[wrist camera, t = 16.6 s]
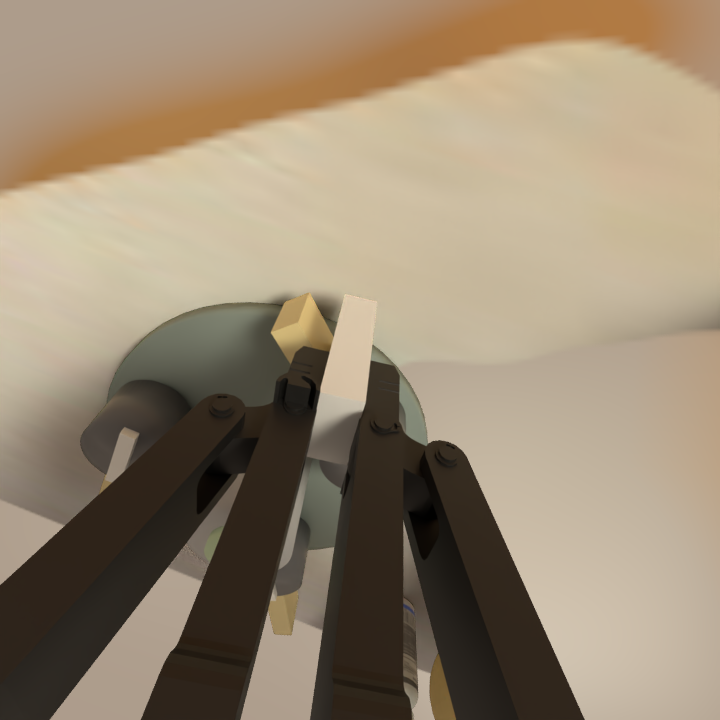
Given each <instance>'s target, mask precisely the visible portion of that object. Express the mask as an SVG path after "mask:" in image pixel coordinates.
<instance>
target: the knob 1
mask: <svg viewBox="0 0 720 720" xmlns="http://www.w3.org/2000/svg"><path fill="white" fill-rule="evenodd" d="M190 410H191V409H190V407H189V405H188V403H187V402H186V400H185V399H184V398H183V397H182V396H181V395H180V394H179V393H178V392H176V391H175V390H174V389H172V388H170V387H169V386H167V385H164V384H162V383H159V382H156V381H151V380H134V381H131V382H128V383H126V384H125V385H123V386H122V387H121V388H120V389H119V390H118V392H117V393H116V394H115V395H114V396H113V398H112V399H111V400H110V401H109V402H108V403H107V405H106V406H105V407H104V408H103V409H102V411H101V412H100V413H99V414H98V415H97V416H96V418H95V419H94V420H93V421H92V422H91V424H90V425H89V426H88V427H87V428H86V429H85V431H84V432H83V434H82V436H81V440H80V443H81V448H82V451H83V453H84V455H85V456H86V458H87V459H88V460H89V461H90V463H91V464H92V465H94V466H95V467H96V468H97V469H99V470H100V471H101V472H103V473H105V477H104V480H103V483H102V486H101V489H100V493H101V492H102V491H103V490H105V489H106V488H107V487H108V486H109V485H110V484H111V483H112V482H113V481H114V480H115V479H116V478H118V477H119V476H120V475H121V474H122V473H123V472H124V471H125V470H126V469H127V468H128V467H130V466H131V465H132V464H133V463H134V462H135V461H136V460H137V459H138V458H139V457H140V456H141V455H143V454H144V453H145V452H146V451H147V450H148V449H149V448H150V447H151V446H152V445H153V444H155V443H156V442H157V441H158V440H159V439H160V438H161V437H162V436H163V435H164V434H165V433H167V432H168V431H169V430H170V429H171V428H172V427H173V426H174V425H175V424H176V423H177V422H178V421H180V420H181V419H182V418H183V417H184V416H185V415H186V414H187V413H188V412H189V411H190ZM100 493H99V494H100Z"/></svg>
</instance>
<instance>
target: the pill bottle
mask: <svg viewBox="0 0 720 720" xmlns="http://www.w3.org/2000/svg"><path fill="white" fill-rule="evenodd" d="M403 681H404V690H405V692H406V694H407V695H408V697H409V698H410V703H411V708H412V709H413V708H414V707H415V705H416V703H417V700H418V678H417V653H416V631H415V612H414V608H413V606H412V604H411V603H410V602H409V601H408V600H406V599H404V598H403ZM412 720H414V718H413V712H412Z"/></svg>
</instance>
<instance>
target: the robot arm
mask: <svg viewBox="0 0 720 720" xmlns="http://www.w3.org/2000/svg"><path fill="white" fill-rule="evenodd" d="M376 308H377V301H373V300H369V299H365V298H360V297H356V296H352V295H348V294H345V296H344V299H343V303H342V307H341V311H340V315H339V319H338V323H337V326H336V330H335V334H334V338H333V342H332V346H331V350H330V352H328V351H324V350H319V349H315V348H311V347H306V346H303V347H302V348H300V349H299V350H298V351H296V352H295V355H294V357H293V360H292V363H291V365H290V368H289V370H288V373H285V374H283V375H281V376H280V377H279V378H278V379H277V380H276V385H275V392H274V400H273V402H271V403H270V404H267V405H264V406H256V407H245V404H244V403H243V402H242V400H241V399H239V398H237V397H236V396H234V395H230V394H214V395H210V396H207V397H206V398H204V399H203V400H201V401H200V402H199V403H198V404H197V405H196V406H195V407H194V408H193V409H192V410H190V411H189V412H188V413H187V414H186V415H185V416H184V417H183V418H182V419H181V420H180V421H178V422H177V423H176V424H175V425H174V426H173V427H172V428H171V429H170V430H169V431H168V432H167V433H165V434H164V435H163V436H162V437H161V438H160V439H159V440H158V441H157V442H156V443H155V444H153V445H152V446H151V447H150V448H149V449H148V450H147V451H146V452H145V453H144V454H143V455H141V456H140V457H139V458H138V459H137V460H136V461H135V462H134V463H133V464H132V465H131V466H130V467H128V468H127V469H126V470H125V471H124V472H123V473H122V474H121V475H120V476H119V477H118V478H116V479H115V480H114V481H113V482H112V483H111V484H110V485H109V486H108V487H107V488H106V489H105V490H103V491H102V492H101V493H100V494H99V495H98V496H97V497H96V498H95V499H94V500H93V501H91V502H90V503H89V504H88V505H87V506H86V507H85V508H84V509H83V510H82V511H81V512H79V513H78V514H77V515H76V516H75V517H74V518H73V519H72V520H71V521H70V522H69V523H68V524H66V525H65V526H64V527H63V528H62V529H61V530H60V531H59V532H58V533H57V534H56V535H54V536H53V537H52V538H51V539H50V540H49V541H48V542H47V543H46V544H45V545H44V546H43V547H41V548H40V549H39V550H38V551H37V552H36V553H35V554H34V555H33V556H32V557H31V558H29V559H28V560H27V561H26V562H25V563H24V564H23V565H22V566H21V567H20V568H19V569H18V570H16V571H15V572H14V573H13V574H12V575H11V576H10V577H9V578H8V579H7V580H6V581H4V582H3V583H2V584H1V585H0V720H50V718H51V717H52V716H53V715H54V713H55V712H56V711H57V709H58V708H59V707H60V706H61V704H62V703H63V702H64V700H65V699H66V698H67V696H68V695H69V694H70V693H71V691H72V690H73V689H74V687H75V686H76V685H77V683H78V682H79V681H80V679H81V678H82V677H83V676H84V674H85V673H86V672H87V671H88V669H89V668H90V667H91V665H92V664H93V663H94V662H95V660H96V659H97V658H98V656H99V655H100V654H101V653H102V651H103V650H104V649H105V647H106V646H107V645H108V643H109V642H110V641H111V640H112V638H113V637H114V636H115V634H116V633H117V632H118V631H119V629H120V628H121V627H122V625H123V624H124V623H125V622H126V620H127V619H128V618H129V616H130V615H131V614H132V612H133V611H134V610H135V609H136V607H137V606H138V605H139V603H140V602H141V601H142V600H143V598H144V597H145V596H146V594H147V593H148V592H149V591H150V589H151V588H152V587H153V585H154V584H155V583H156V581H157V580H158V579H159V578H160V576H161V575H162V574H163V573H164V571H165V570H166V569H167V567H168V566H169V565H170V563H171V562H172V561H173V560H174V558H175V557H176V556H177V554H178V553H179V552H180V551H181V549H182V548H183V547H184V545H185V544H186V543H187V542H188V540H189V539H190V538H191V536H192V535H193V534H194V532H195V531H196V530H197V529H198V527H199V526H200V525H201V523H202V522H203V521H204V520H205V518H206V517H207V516H208V514H209V513H210V512H211V511H212V509H213V508H214V507H215V505H216V504H217V503H218V501H219V500H220V499H221V498H222V496H223V495H224V494H225V492H226V491H227V490H228V489H229V487H230V486H231V485H232V483H233V482H234V481H235V480H236V478H237V476H238V474H241V473H245V475H244V477H243V480H242V482H241V485H240V488H239V490H238V493H237V495H236V498H235V500H234V503H233V505H232V508H231V510H230V513H229V515H228V518H227V521H226V523H225V526H224V528H223V531H222V533H221V536H220V538H219V541H218V543H217V546H216V549H215V551H214V554H213V556H212V559H211V561H210V564H209V566H208V569H207V571H206V574H205V576H204V579H203V582H202V585H201V587H200V589H199V592H198V594H197V597H196V599H195V602H194V604H193V607H192V610H191V612H190V615H189V617H188V620H187V622H186V625H185V627H184V630H183V632H182V635H181V637H180V640H179V642H178V644H177V646H176V647H175V648H174V649H173V650H172V651H171V652H170V654H169V656H168V658H167V659H166V661H165V663H164V665H163V667H162V669H161V672H160V674H159V676H158V679H157V681H156V684H155V686H154V689H153V691H152V694H151V696H150V699H149V701H148V704H147V706H146V708H145V711H144V714H143V716H142V718H141V720H240V719H241V714H242V711H243V707H244V702H245V698H246V695H247V691H248V687H249V683H250V679H251V675H252V671H253V667H254V663H255V659H256V655H257V651H258V647H259V643H260V639H261V636H262V632H263V628H264V624H265V620H266V616H267V612H268V608H269V604H270V600H271V596H272V592H273V588H274V584H275V580H276V576H277V572H278V569H279V565H280V561H281V557H282V553H283V549H284V545H285V541H286V537H287V533H288V529H289V525H290V521H291V517H292V513H293V509H294V505H295V502H296V498H297V494H298V490H299V486H300V482H301V478H302V474H303V470H304V465H305V461H306V457H310V458H315V459H319V460H324V461H328V462H333V463H338V464H342V465H347V464H348V467H347V471H346V474H345V478H344V481H343V484H342V488H341V491H340V494H342V498H341V505H340V512H339V519H338V526H337V533H336V540H335V547H334V554H333V562H332V569H331V576H330V583H329V590H328V597H327V604H326V611H325V618H324V625H323V632H322V640H321V647H320V653H319V661H318V668H317V675H316V682H315V689H314V696H313V703H312V710H311V717H310V720H412V708H411V703H410V698H409V697H408V695H407V694H406V692H405V690H404V681H403V520H404V524H405V527H406V531H407V535H408V539H409V543H410V546H411V550H412V554H413V558H414V562H415V565H416V569H417V573H418V577H419V581H420V584H421V588H422V592H423V596H424V600H425V603H426V607H427V611H428V615H429V619H430V622H431V626H432V630H433V634H434V638H435V641H436V645H437V649H438V653H439V657H440V660H441V664H442V668H443V672H444V676H445V679H446V683H447V687H448V691H449V694H450V698H451V702H452V706H453V710H454V713H455V717H456V720H585V719H584V717H583V715H582V713H581V711H580V708H579V706H578V704H577V702H576V700H575V697H574V695H573V693H572V690H571V688H570V686H569V684H568V682H567V679H566V677H565V675H564V673H563V671H562V668H561V666H560V664H559V661H558V659H557V657H556V655H555V653H554V650H553V648H552V646H551V644H550V641H549V639H548V637H547V635H546V633H545V630H544V628H543V626H542V624H541V621H540V619H539V617H538V615H537V612H536V610H535V608H534V606H533V604H532V601H531V599H530V597H529V595H528V592H527V590H526V588H525V586H524V584H523V581H522V579H521V577H520V575H519V572H518V570H517V568H516V566H515V564H514V561H513V559H512V557H511V555H510V552H509V550H508V548H507V546H506V543H505V541H504V539H503V537H502V535H501V532H500V530H499V528H498V526H497V523H496V521H495V519H494V517H493V515H492V513H491V510H490V508H489V506H488V503H487V501H486V499H485V497H484V494H483V492H482V490H481V488H480V486H479V483H478V481H477V479H476V477H475V475H474V472H473V470H472V468H471V465H470V463H469V461H468V459H467V457H466V455H465V454H464V452H463V451H462V450H461V449H459V448H458V447H457V446H456V445H454V444H451V443H449V442H446V441H440V440H439V441H432V442H431V443H429V444H427V446H425V445H423V444H421V443H419V442H417V441H415V440H413V439H412V438H410V437H409V436H408V435H407V434H405V432H404V431H403V428H402V425H401V423H400V422H399V392H400V386H399V385H400V375H399V373H398V371H397V369H396V368H395V366H393V365H389V364H384V363H380V362H376V361H371V352H372V343H373V334H374V326H375V317H376ZM348 460H349V461H348Z"/></svg>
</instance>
